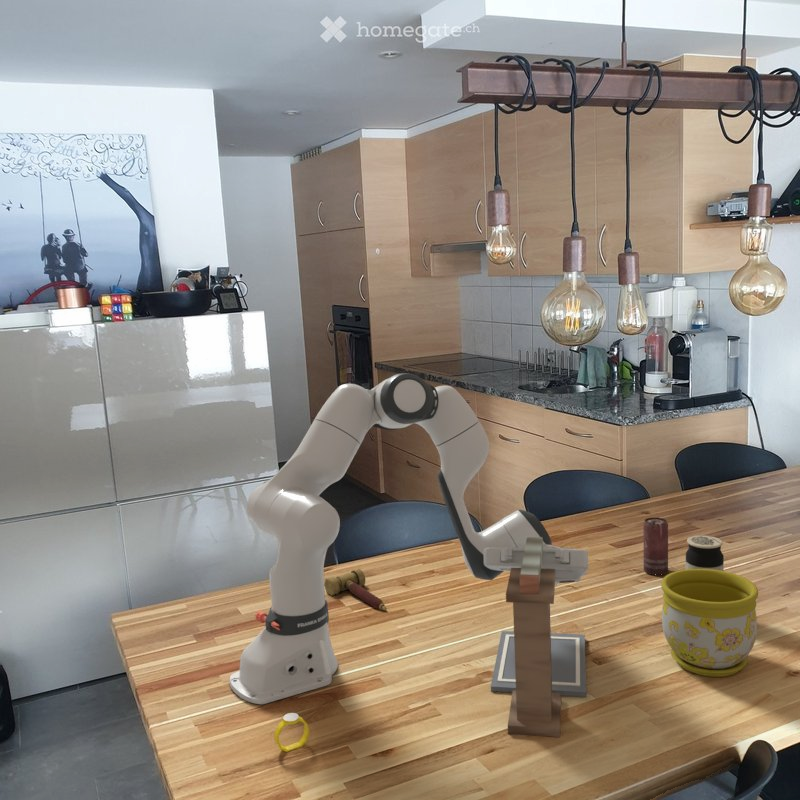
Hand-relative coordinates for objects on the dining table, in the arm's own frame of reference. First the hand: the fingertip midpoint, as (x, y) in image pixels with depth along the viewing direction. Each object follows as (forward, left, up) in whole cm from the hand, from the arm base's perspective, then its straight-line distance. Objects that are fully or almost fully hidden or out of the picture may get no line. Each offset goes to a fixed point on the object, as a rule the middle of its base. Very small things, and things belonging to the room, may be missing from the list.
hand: (533, 553), depth 150 cm
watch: (-46, +16, -28) cm, 56 cm away
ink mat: (+8, +6, -27) cm, 29 cm away
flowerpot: (+32, -16, -28) cm, 46 cm away
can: (+65, +19, -28) cm, 73 cm away
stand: (-8, -6, -27) cm, 29 cm away
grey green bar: (-4, -4, -1) cm, 6 cm away
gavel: (0, +60, -28) cm, 66 cm away
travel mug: (+50, -4, -28) cm, 58 cm away
